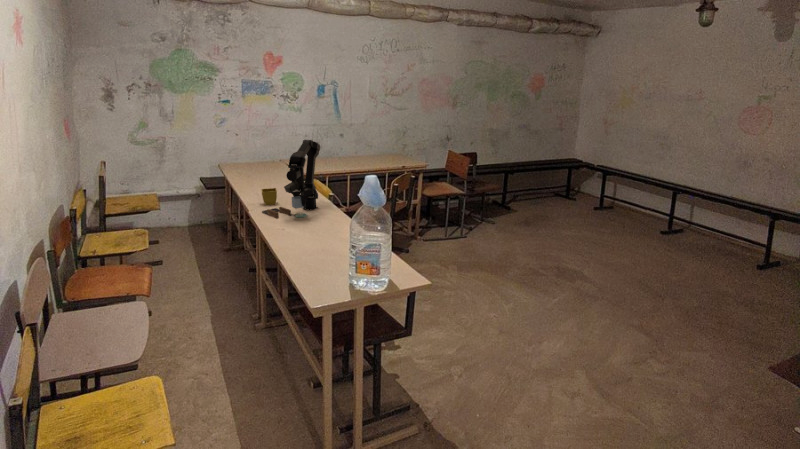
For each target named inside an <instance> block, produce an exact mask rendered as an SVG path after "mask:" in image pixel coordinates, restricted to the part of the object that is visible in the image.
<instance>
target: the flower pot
mask: <svg viewBox="0 0 800 449" xmlns="http://www.w3.org/2000/svg"><path fill="white" fill-rule="evenodd" d="M277 192H278V191H277V188H276V187H270V188H262V189H261V196H262V201H263V203H264V205H265V206H273V205H276V203H277V199H278V198H277V197H278V193H277Z"/></svg>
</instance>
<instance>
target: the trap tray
mask: <svg viewBox="0 0 800 449" xmlns="http://www.w3.org/2000/svg"><path fill="white" fill-rule="evenodd" d="M269 209H270V210H272V211H275V212H278V213H280V212H279V208H277V207H276V208H275V207H274V208H269ZM261 213H262V214H265V215H267V209H266V210H262V211H261Z"/></svg>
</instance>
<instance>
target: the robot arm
mask: <svg viewBox="0 0 800 449" xmlns="http://www.w3.org/2000/svg"><path fill="white" fill-rule="evenodd" d="M320 151H321V145H320V143H319V142H316V141H313V139H304V140H302V143H301V144H300V146H299V148H298V150H297V151H294V152H292V154H291V155H290V157H289V162H288V165H287V166H288V169H289V170H287V173H286V179H287V180H288V181H290V183H287V184H286V185H285V186H283V188H284V191H285V193H289V194H291V195H292V197H295V196H300V197H301V202H302V206H304V207H303V208H302V209H304V210H307V211H311V210H317V209H319V208H318V206H317V200H318V199H319V193H318V191H317V188H316V184H315V183H314V181H315V180H314V179H315V169H316V159H317V157H318V156H319V154H320ZM306 157H307V159H306ZM305 164H306V169H305V171H304V168H305Z"/></svg>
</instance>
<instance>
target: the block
mask: <svg viewBox="0 0 800 449" xmlns="http://www.w3.org/2000/svg"><path fill="white" fill-rule="evenodd" d="M291 207H292V208H294V209H296V210H297V209H304V208H303V207H304V206H302V202H301V197H300V196H295V197H294V196H291Z"/></svg>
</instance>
